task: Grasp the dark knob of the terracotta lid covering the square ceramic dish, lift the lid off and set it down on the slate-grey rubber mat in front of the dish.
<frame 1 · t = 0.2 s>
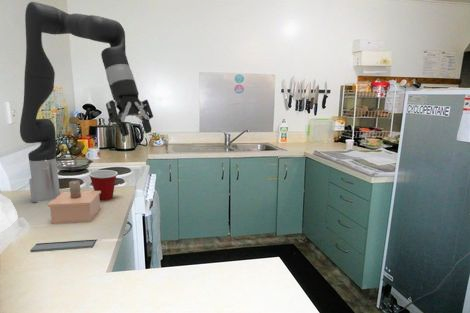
hand: (137, 134, 91), 31 cm above the countertop, tool tilted 20°, fingers open, 8 cm apart
lid: (76, 199, 104), point 7 cm above the countertop, touching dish
plastic cup: (105, 201, 124), on the countertop
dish: (78, 218, 105), on the countertop
mat: (70, 238, 90), on the countertop
beige ball: (77, 215, 105), point 1 cm above the countertop, touching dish
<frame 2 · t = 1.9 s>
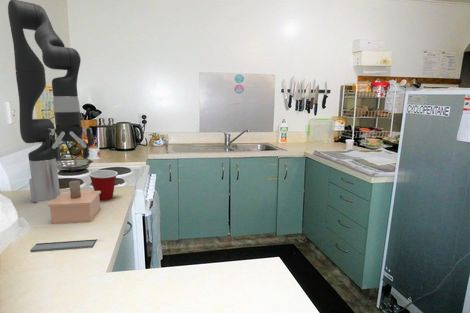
hand: (72, 159, 101), 21 cm above the countertop, tool pointing down, fingers open, 8 cm apart
nothing on the countertop moved.
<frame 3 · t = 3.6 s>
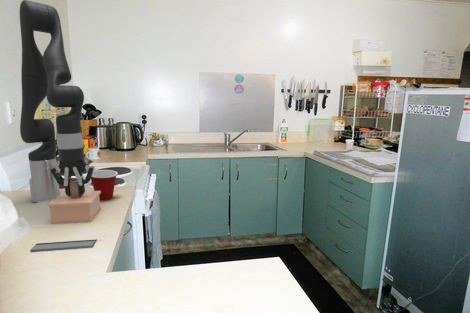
hand: (75, 195, 104), 8 cm above the countertop, tool pointing down, fingers closed on lid, 3 cm apart
lid: (76, 199, 104), point 7 cm above the countertop, touching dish, gripper
everything else where it was.
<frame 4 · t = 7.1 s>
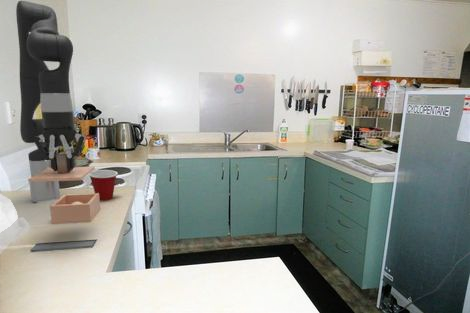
hand: (63, 170, 86), 21 cm above the countertop, tool pointing down, fingers closed on lid, 3 cm apart
lid: (64, 175, 87), point 20 cm above the countertop, touching gripper
everything else where it was.
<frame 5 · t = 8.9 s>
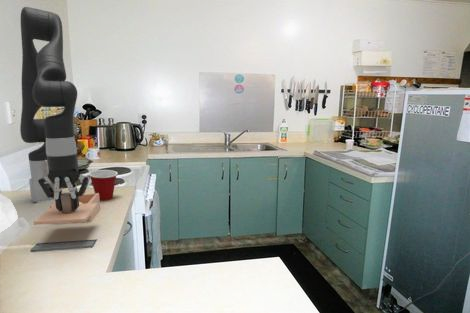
hand: (68, 209, 89), 9 cm above the countertop, tool pointing down, fingers closed on lid, 3 cm apart
lid: (68, 214, 89), point 8 cm above the countertop, touching gripper
everything else where it was.
when the fingers open (3 cm above the countertop, at t = 10.4 s): lid drops 1 cm, resting on mat.
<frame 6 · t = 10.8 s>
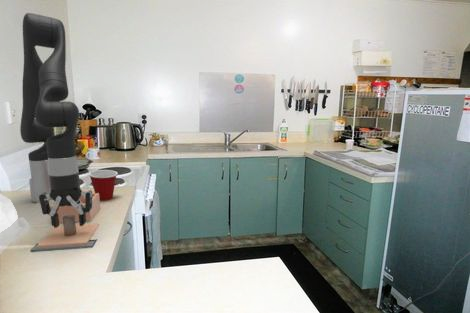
hand: (69, 225, 90), 4 cm above the countertop, tool pointing down, fingers open, 6 cm apart
lid: (70, 236, 90), point 1 cm above the countertop, touching mat
everything else where it was.
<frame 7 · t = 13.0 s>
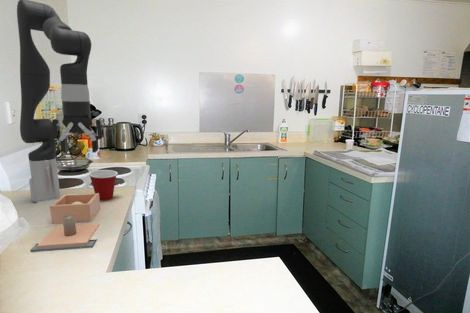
hand: (80, 152, 94), 25 cm above the countertop, tool pointing down, fingers open, 8 cm apart
nothing on the countertop moved.
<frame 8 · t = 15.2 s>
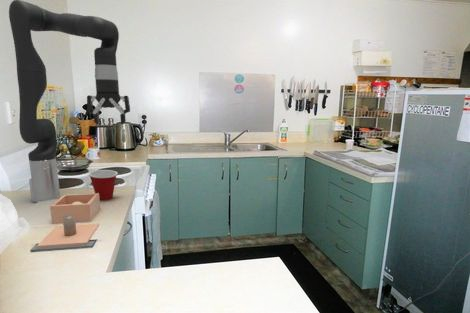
hand: (110, 124, 110), 32 cm above the countertop, tool pointing down, fingers open, 8 cm apart
nothing on the countertop moved.
at the end: lid inside the target area on the mat (0.1 cm from its centre), point 0.6 cm above the mat's base; lid touching mat; lid tilted 0° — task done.
